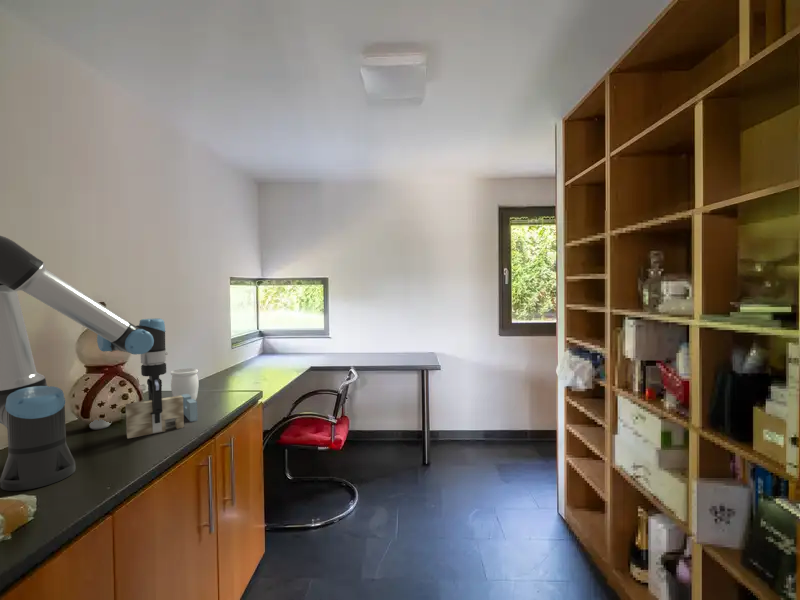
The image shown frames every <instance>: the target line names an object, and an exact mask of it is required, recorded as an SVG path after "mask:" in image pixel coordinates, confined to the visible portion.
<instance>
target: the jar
mask: <svg viewBox="0 0 800 600" xmlns="http://www.w3.org/2000/svg"><path fill="white" fill-rule="evenodd" d="M198 373H199V369H197V368H181V369H175V370H171V371H170V375H171V380H170V381H171V382H170V389H171V394H172V397H174V396H180V395H183V394H189V395H190V396H191V399H194V400H195V401H197V398H198V393H199V388H200V387H199V384H200V383H199V376H198Z"/></svg>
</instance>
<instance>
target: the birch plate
mask: <svg viewBox="0 0 800 600" xmlns="http://www.w3.org/2000/svg"><path fill="white" fill-rule="evenodd" d="M162 410H163V411H162V412H161V419H162V431H160V432H155V433H153V429H152V415H150V413H152V412H153V409H152V400H149V399H148V400H143V401H136V402H130V403H125V422H126V423H125V425H126V438H127V439H132V438H133V439H134V438H137V437H143V436H147V435H153V434H158V433H163V432H166V420H171V419H174V420H175V428H176V429H177V430H178V429H183V428H185V421H184V418H185V415H184V414H183V397H182V396H181V395H180V396H174V397H173V396H168V397H163V398H162Z"/></svg>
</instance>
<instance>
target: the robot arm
mask: <svg viewBox="0 0 800 600" xmlns="http://www.w3.org/2000/svg"><path fill="white" fill-rule="evenodd" d="M18 291H19V292H20V291H22V292H24V293H26V294H28V295H30V296H31V297H33V298H35V299H36V300H38V301H40V302H41V303H43V304H44V305H47V306H48V307H50V308H51V309H53V310H55V311H57V312H59V313H60V314H61V315H64V316H65V317H67V318H69V319H71V320H72V321H73V322H76V323H77V324H79V325H81V326H82V327H84V328H86V329H88V330H89V331H91V332H93V333H95V334H96V335H97V336H96V340H97V341H96V343H97V347H98V349H99V350H100V351H101V352H105V353H106V352H115V351H119V352H124V353H129V354H131V355H140V364H141V366H140V374H141V376H142V377H148V379H147V380H146V384H147V392H148V393H147V395H148V397H147V398H148V400H152V409H153V412H152V413H150V415H152V429H153V433H154V434H156V433H155V432H159V433H161V432H160V431H162V419H161V412H162V411H163V410H162V391H163V390H162V386H163V385H162V384H163V381H162V379H161V378H160V376H162V375H164V374H167V363H166V361H167V355H168V352H166V325H165V321H164V319H163V318H144V319H140V320H139V323H138V325H135V324H133V323H131V321H130V322H129V321H128V320H127V319H125V318H124V317H122V316H121V315H119V314H117V313H116V312H114V311H113V310H111V309H110V308H108V307H107V306H105V305H103V304H101V303H100V302H99V301H98V300H96V299H95V298H93V297H91V296H90V295H87V294H86V293H85V292H83V291H81V290H80V289H78V288H77V287H76V286H74V285H72V284H71V283H69V282H68V281H66V280H65V279H63V278H62V277H60V276H58V275H57V274H55V273H53V272H52V271H50V270H48V269H47V268H46V263H45V262H44V261H42V260H41V259H39V258H38V257H36V256H35V255H33V254H32V253H30V251H28V250H26V249H25V248H24V247H22V246H21V245H20V244H18V243H16V241H14V240H13V239H10V238H8V237H6V236H2V235H0V424H1V425H3V426H4V427H5V428H6V429H7V450H8V456H7V458H6V460H5V464H4V467H3V470H2V473H1V476H0V489H1V490H3V491H7V492H8V491H9V492H19V491H27V490H28V491H29V490H32V489H38V488H42V487H46V486H49V485H53V484H56V483H58V482H60V481H63V480H65V479H66V478H68V477H70V476H71V475H73V474H75V471H76V460H75V458H74V456H73V454H72V453H71V450H70V448H69V445H68V444H67V432H66V430H67V428H66V405H65V404H66V398H65V393H64V391H63V389H61V388H60V387H57V386H52V385H51V386H48V383H47V380H46V376H45V375H43V374H42V373H39V372H38V371H37V368H36V364H35V359H34V356H33V352H32V351H33V350H32V348H31V347H32V346H31V343H30V339H29V335H28V331H27V326H26V324H25V323H26V322H25V318H24V315H23V310H22V305H21V302H20V298H19V293H18Z"/></svg>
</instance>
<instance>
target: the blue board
mask: <svg viewBox="0 0 800 600" xmlns="http://www.w3.org/2000/svg"><path fill="white" fill-rule="evenodd" d="M181 396H182V397H183V414H184V417H186V418H187V420H188V421H189V422H190V423H191V422H197V421H198V420H199V419H198V418H199V417H198V415H199V414H198V401H197V400H194V399H191V396H190V395H189V394H183V395H181Z"/></svg>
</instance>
